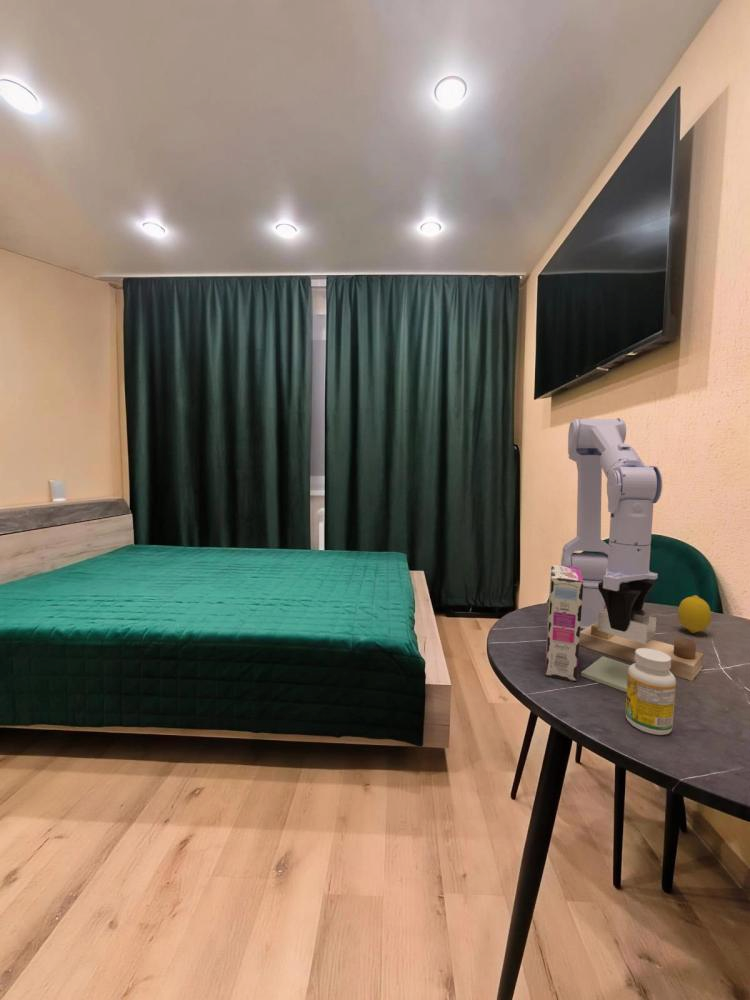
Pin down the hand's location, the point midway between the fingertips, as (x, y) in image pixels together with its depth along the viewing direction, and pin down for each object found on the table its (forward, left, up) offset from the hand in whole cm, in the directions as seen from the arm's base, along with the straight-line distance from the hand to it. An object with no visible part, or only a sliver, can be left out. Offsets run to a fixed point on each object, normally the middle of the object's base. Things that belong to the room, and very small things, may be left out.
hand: (624, 625), depth 69 cm
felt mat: (0, 0, -9) cm, 9 cm away
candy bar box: (-8, -3, -9) cm, 13 cm away
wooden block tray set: (-1, +11, -9) cm, 14 cm away
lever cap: (0, 0, -1) cm, 1 cm away
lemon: (+3, +32, -9) cm, 33 cm away
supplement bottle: (+7, -11, -9) cm, 16 cm away
